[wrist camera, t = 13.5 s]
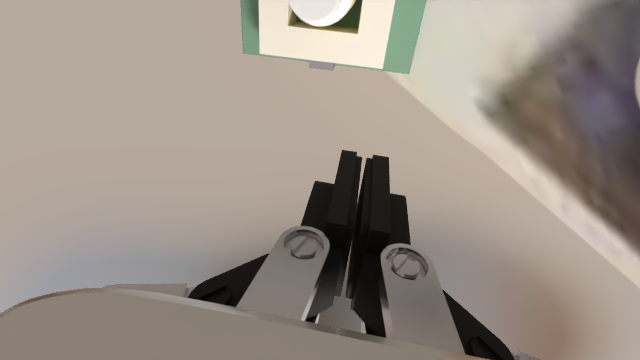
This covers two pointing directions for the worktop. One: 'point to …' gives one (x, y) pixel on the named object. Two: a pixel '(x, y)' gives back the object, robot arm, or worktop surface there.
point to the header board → (351, 18)
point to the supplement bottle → (321, 10)
